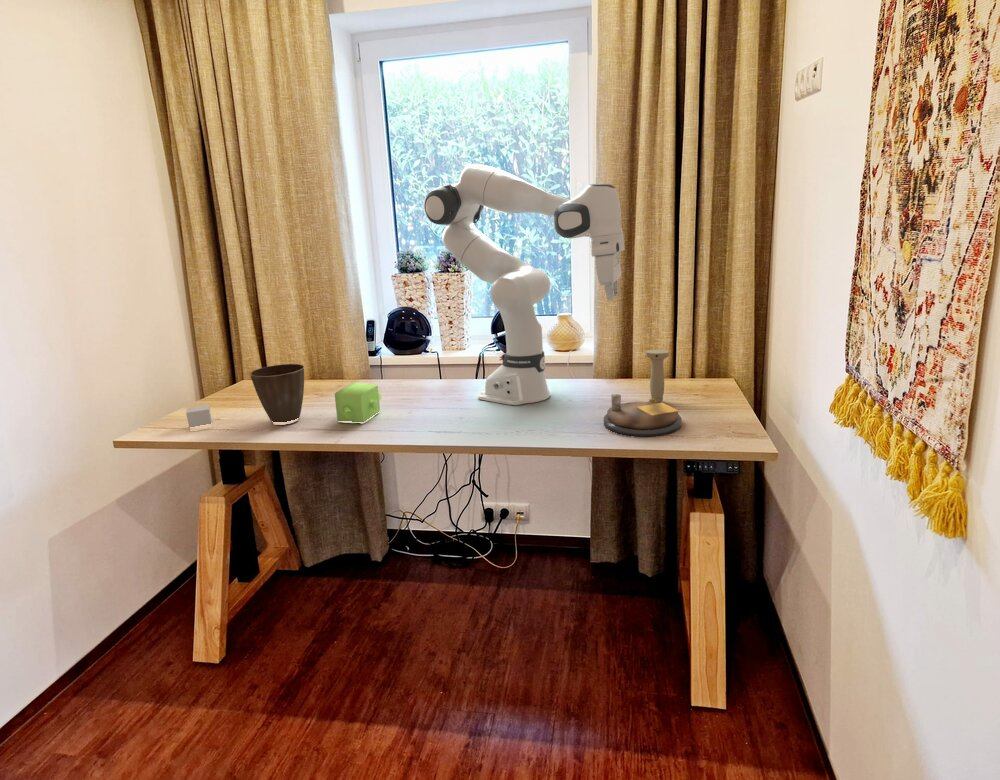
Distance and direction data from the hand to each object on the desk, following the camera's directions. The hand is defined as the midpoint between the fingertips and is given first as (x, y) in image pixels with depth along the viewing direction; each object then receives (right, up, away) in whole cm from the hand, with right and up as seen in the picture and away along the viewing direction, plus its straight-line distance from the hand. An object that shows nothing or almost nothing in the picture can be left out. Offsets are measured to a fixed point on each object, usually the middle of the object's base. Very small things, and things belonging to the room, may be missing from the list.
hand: (612, 298), depth 168 cm
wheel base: (+7, -34, -5) cm, 35 cm away
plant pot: (-94, -35, +16) cm, 102 cm away
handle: (+15, -29, +13) cm, 35 cm away
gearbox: (-71, -34, +14) cm, 80 cm away
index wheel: (+7, -32, -5) cm, 33 cm away
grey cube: (-119, -36, +16) cm, 126 cm away
